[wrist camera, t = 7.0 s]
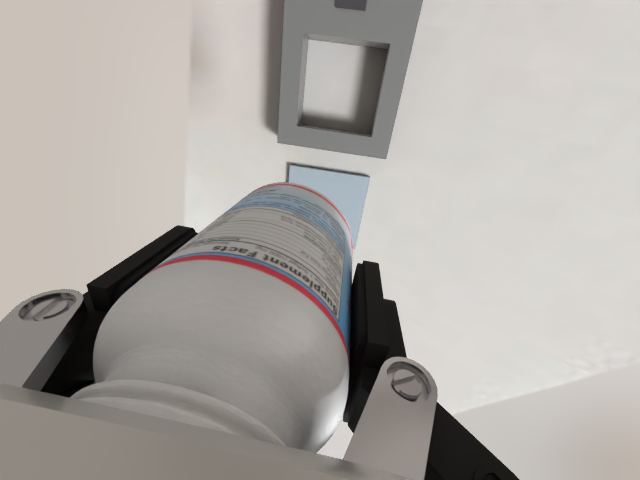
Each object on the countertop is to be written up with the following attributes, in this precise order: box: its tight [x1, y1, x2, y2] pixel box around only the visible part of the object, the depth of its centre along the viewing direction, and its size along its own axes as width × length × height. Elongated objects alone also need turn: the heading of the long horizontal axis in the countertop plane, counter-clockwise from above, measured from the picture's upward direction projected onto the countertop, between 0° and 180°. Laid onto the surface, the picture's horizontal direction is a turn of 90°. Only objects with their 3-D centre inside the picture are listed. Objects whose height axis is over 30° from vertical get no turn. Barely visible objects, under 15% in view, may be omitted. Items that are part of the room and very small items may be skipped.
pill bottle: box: [70, 182, 353, 453], centre depth 9 cm, size 6×6×11 cm
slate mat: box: [289, 165, 370, 249], centre depth 32 cm, size 9×9×1 cm
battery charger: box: [277, 0, 423, 159], centre depth 22 cm, size 23×11×3 cm, turn 173°
